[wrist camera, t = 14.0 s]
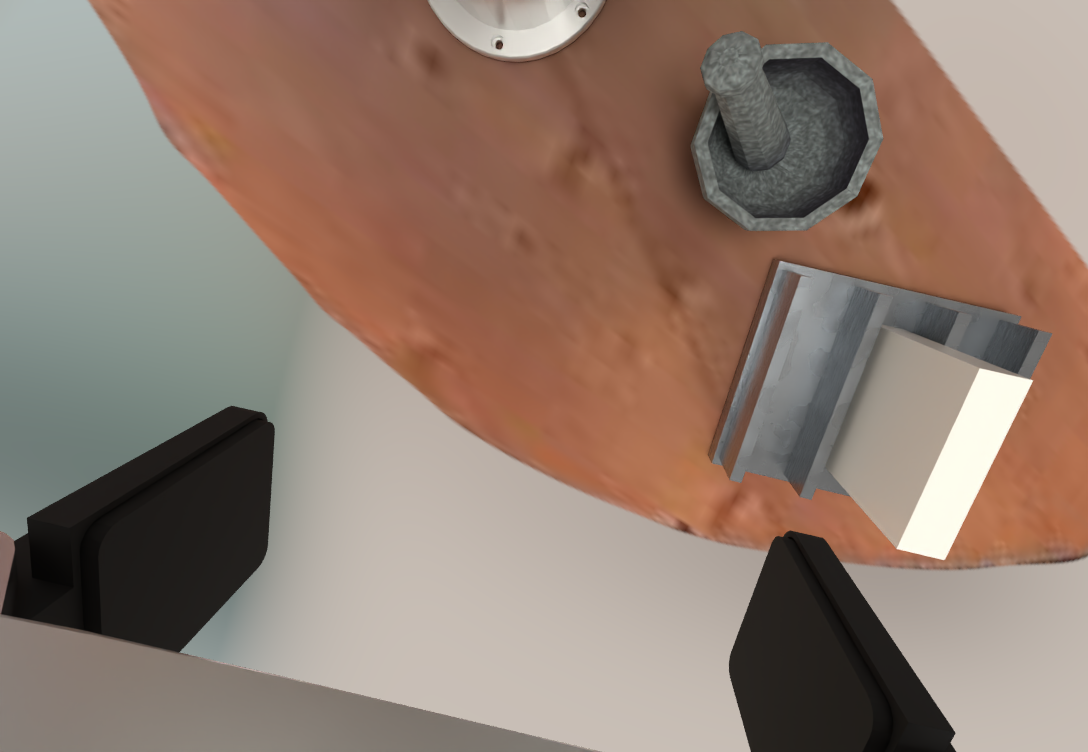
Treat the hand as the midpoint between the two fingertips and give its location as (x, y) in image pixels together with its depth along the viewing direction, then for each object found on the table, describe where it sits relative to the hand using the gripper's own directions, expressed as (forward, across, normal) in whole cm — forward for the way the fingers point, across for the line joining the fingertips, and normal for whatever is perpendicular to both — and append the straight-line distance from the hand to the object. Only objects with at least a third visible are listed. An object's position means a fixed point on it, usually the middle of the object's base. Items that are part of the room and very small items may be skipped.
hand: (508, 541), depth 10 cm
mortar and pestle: (+32, -9, -11) cm, 35 cm away
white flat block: (+30, -21, +3) cm, 37 cm away
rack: (+32, -21, +3) cm, 38 cm away
